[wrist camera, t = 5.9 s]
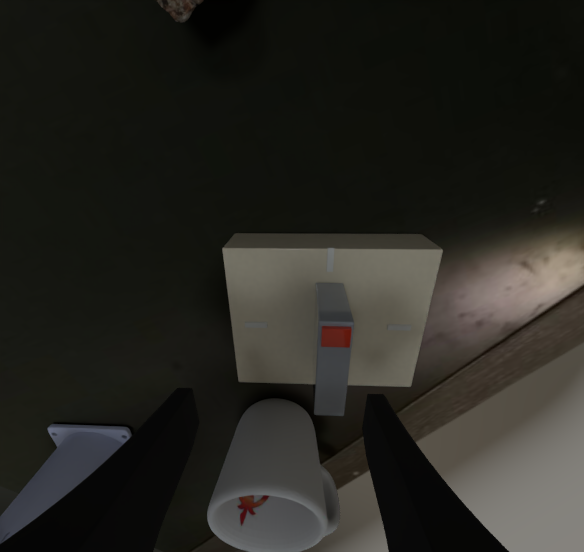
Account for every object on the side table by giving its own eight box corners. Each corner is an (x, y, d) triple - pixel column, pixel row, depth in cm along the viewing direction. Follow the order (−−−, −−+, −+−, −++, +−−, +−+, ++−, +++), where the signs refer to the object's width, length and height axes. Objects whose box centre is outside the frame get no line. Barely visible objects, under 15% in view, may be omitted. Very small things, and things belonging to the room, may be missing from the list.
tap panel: (397, 358, 22) (411, 390, 19) (246, 354, 22) (237, 385, 19) (422, 232, 17) (445, 248, 14) (234, 231, 18) (220, 247, 15)
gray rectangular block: (336, 363, 18) (344, 420, 14) (312, 362, 18) (314, 419, 14) (343, 282, 16) (355, 326, 12) (315, 281, 16) (318, 325, 12)
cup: (361, 432, 25) (383, 545, 18) (303, 469, 28) (302, 580, 21) (271, 371, 23) (256, 475, 16) (217, 418, 26) (182, 525, 18)
